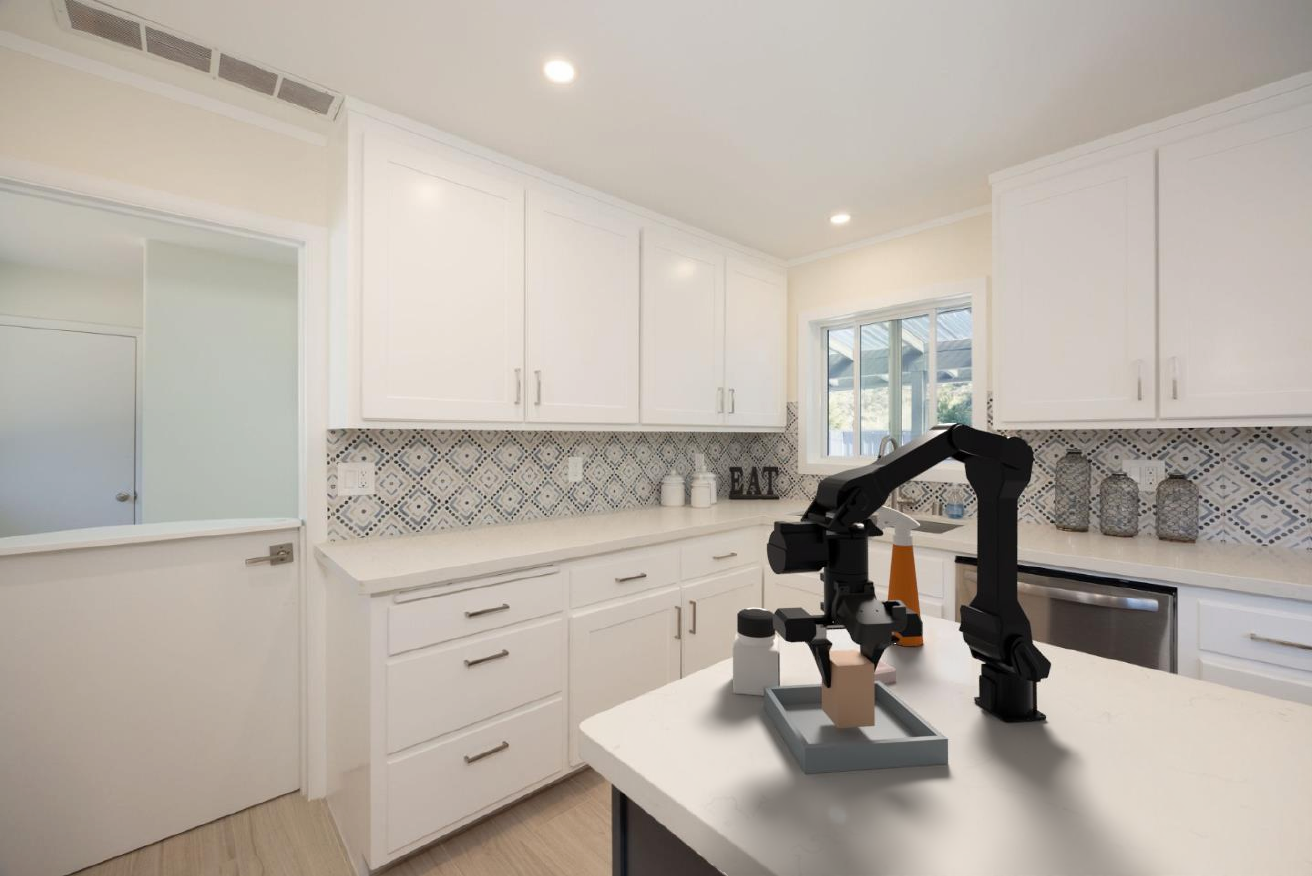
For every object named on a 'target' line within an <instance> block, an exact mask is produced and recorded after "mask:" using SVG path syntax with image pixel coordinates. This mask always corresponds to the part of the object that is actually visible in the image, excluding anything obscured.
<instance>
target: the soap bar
mask: <svg viewBox="0 0 1312 876" xmlns="http://www.w3.org/2000/svg"><path fill="white" fill-rule="evenodd" d="M856 650H857V651H858V652H860V649H856ZM896 671H897V669H896V668H894V667H893V666H891V665H889V664H887V663H885V662H883V661H881V659H880V660H879V663H878V665H877V668H876V670H875V673H874V681H881V682H882V683H883V684H888V683H896V680H897V672H896Z"/></svg>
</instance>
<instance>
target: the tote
mask: <svg viewBox="0 0 1312 876" xmlns="http://www.w3.org/2000/svg"><path fill="white" fill-rule="evenodd" d="M874 701H875V726H867V727H851V728H837V727H836V725H835V724H834V723H833V722H832V721H831V719H830V718H829V717H828V716H827V715H826V713H825V712H824V711H823V710H822V683H813V684H812V683H811V684H793V685H791V684H790V685H780V686H771V687H764V696H763V708H764V710H765V712H766V713H767V715H768V716H769V718H770V719H771V722H772V723H773V724H774V726H775V728H776V729H777V731H778V733H779V734H780V735H781V737H782V739H783V741H784V742H785V744H786V746H787V747H788V749H789V750H790V752H791V753H792V755H793V757H794V758H795V760H796V761H797V763H798V765H799V766H800V768H801V769H802V771H803V772H804V773H803V774H804V775H809V774H820V773H821V774H822V773H824V774H825V773H836V772H837V773H838V772H849V771H863V770H875V769H877V770H878V769H879V770H880V769H892V768H893V769H894V768H905V767H919V766H921V767H922V766H936V765H946V764H947V765H948V764H949V738H948V737H947V736H945V735H944V733H942V732H940V731H939V730H938V729H937V728H936V727H935V726H934V725H932V723H930V722H929V721H928V720H926V718H924V717H923V716H922V715H921V714H919V713H918V712H917V711H916V710H915V709H914V708H913V707H911V706H910V705H909V704H907V703H906V701H904V700H903V699H902V698H901V697H900V696H898V695H897V694H896V693H895V692H893V691H892V690H891V688H889V687H887V686H886V685H885V683H882V682H881V681H874Z"/></svg>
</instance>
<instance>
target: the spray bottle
mask: <svg viewBox="0 0 1312 876" xmlns="http://www.w3.org/2000/svg"><path fill="white" fill-rule="evenodd" d="M875 513H877V514H878V515H877V516H876V520H877V522H876V524H875V525H876V526H877V527H878V528H879V529H881V530H882V531H883V530H885V529H886V528H888V527H893V528H894V533H893V534H892V546H891V547H892V550H891V559H890V560H891V561H890V571H889V580H888V581H889V583H888V593H887V601H888V600H901V601H902V602H903V603H904V605H905V606H906V608H908V609H910V610H912V611H914V612H916V613H917V614H918V615H919V616H920V618H921V619H922V617H921V609H920V608H921V607H920V600H919V592H918V589H919V588H918V581H917V573H916V564H915V562H916V561H915V555H914V546H913V534H911V533H912V530H914V529H917V528H919V527H920V526H921V524H920V523H919V522H918V521H917V520H916V519H914V518H912V517H911V516H909V515H908V514H906V513H903V512H901V511H899V510H896V509H894V508H891V507H889V506H885V505H883V506H882V507H881V508H880V509H878V510H877V511H876V512H875ZM875 537H876V536H874V537H868V541H870V540H872V539H874V538H875ZM894 635H895V636H896V637H898V638H899V639H900V641H899V642H898V643H896V644H899V645H898V646H900V645H905V646H904V647H906V646H915V647H920V646H921V644H922V645H924V634H923V635H922V636H920V637H902V636H900V635H899V634H898V633H897V632H894ZM896 644H895V645H896ZM919 645H920V646H919Z"/></svg>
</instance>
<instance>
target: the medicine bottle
mask: <svg viewBox="0 0 1312 876" xmlns="http://www.w3.org/2000/svg"><path fill="white" fill-rule="evenodd" d="M736 614H737V615H736V617H737V618H736V620H737V621H736V624H737V626H736V627H737V629H736V631H737V632H736V633H735V634H734V641H733V647H732V691H733V693H734V694H737V695H748V696H761V697H764V687H771V686H781V682H780V681H781V680H780V679H781V675H780V674H781V673H780V672H781V671H780V669H781V668H780V662H781V661H780V658H781V657H780V641H779V640H780V639H779V636H778V635H776V630H775V629H774V628H773V615H774V613H773V612H772V611H770V610H769V609H767V608H761V607H747V608H744V609H741V610H740V611H739V612H738V613H736Z"/></svg>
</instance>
